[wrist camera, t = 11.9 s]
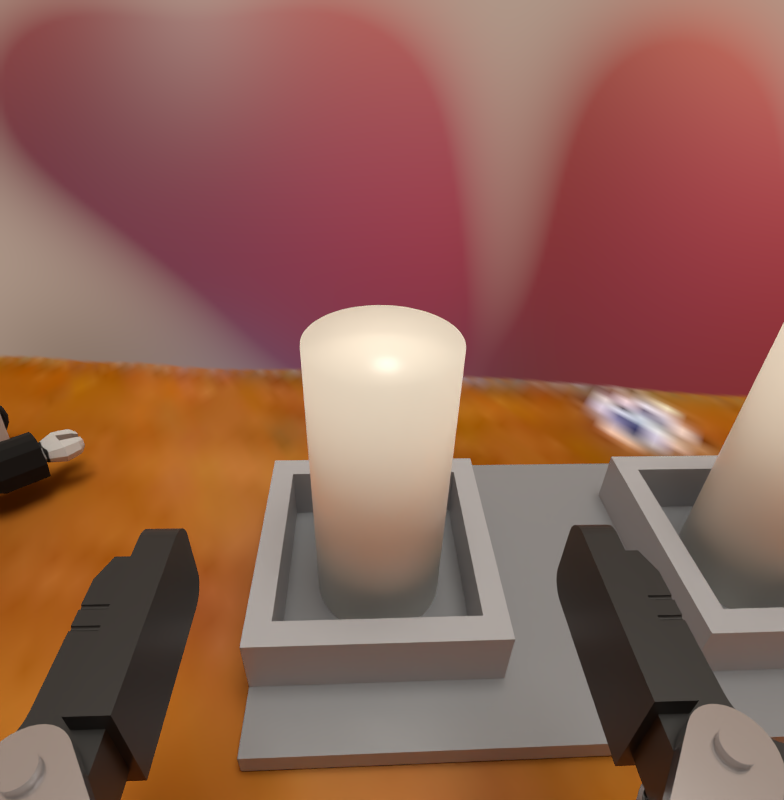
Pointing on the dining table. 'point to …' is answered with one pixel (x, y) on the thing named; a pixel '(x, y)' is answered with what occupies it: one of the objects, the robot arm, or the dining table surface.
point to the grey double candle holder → (518, 607)
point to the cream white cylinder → (380, 454)
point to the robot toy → (32, 455)
